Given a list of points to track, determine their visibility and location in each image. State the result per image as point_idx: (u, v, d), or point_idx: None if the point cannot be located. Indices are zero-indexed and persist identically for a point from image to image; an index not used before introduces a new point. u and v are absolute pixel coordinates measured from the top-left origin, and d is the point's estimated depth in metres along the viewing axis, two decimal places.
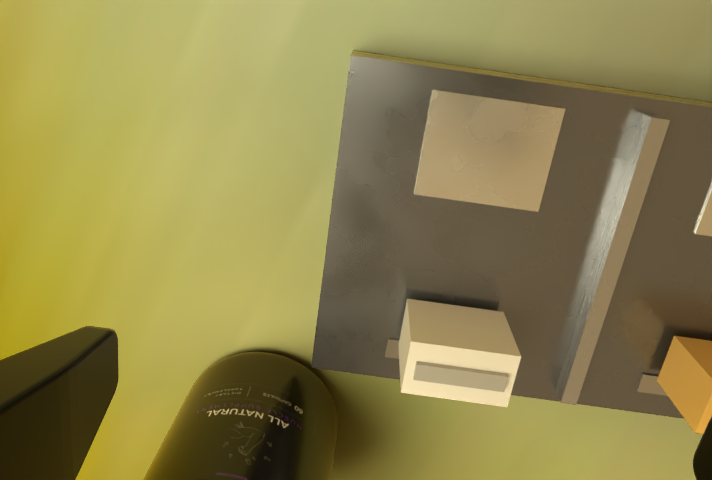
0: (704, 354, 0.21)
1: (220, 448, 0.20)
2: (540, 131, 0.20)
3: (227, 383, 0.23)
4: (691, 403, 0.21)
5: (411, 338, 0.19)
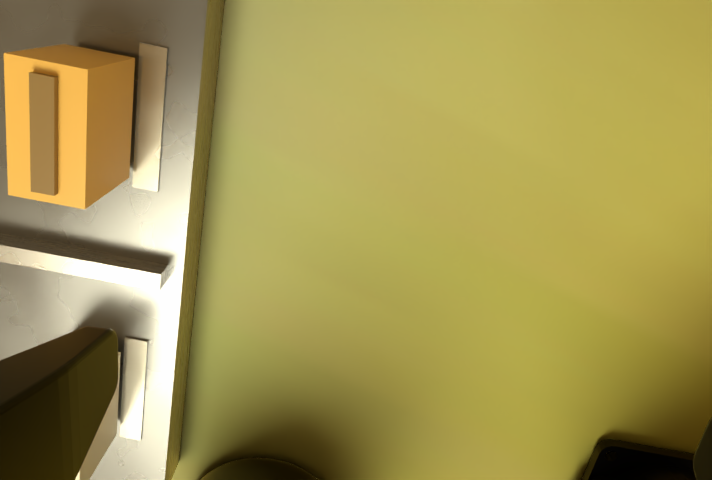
0: None
1: None
2: None
3: None
4: None
5: None
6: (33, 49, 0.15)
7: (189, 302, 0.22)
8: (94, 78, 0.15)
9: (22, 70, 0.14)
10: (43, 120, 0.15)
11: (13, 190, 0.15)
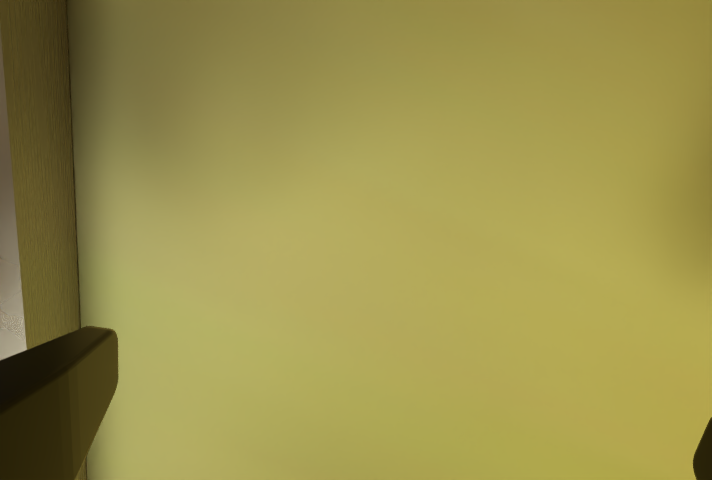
0: None
1: None
2: None
3: None
4: None
5: None
6: None
7: None
8: None
9: None
10: None
11: None
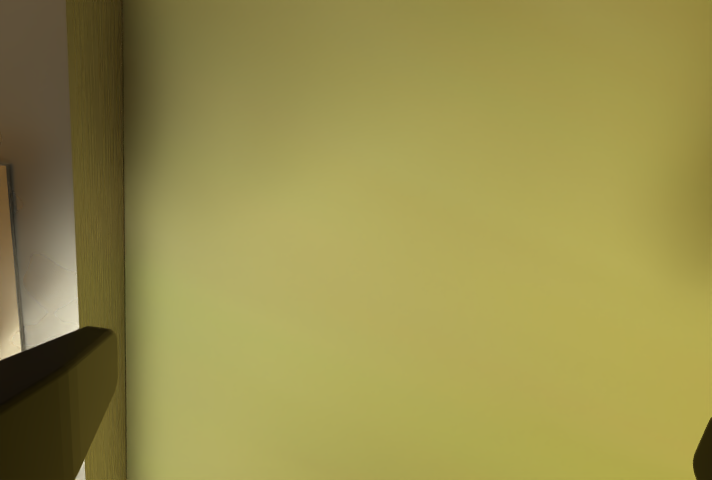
0: None
1: None
2: None
3: None
4: None
5: None
6: None
7: None
8: None
9: None
10: None
11: None
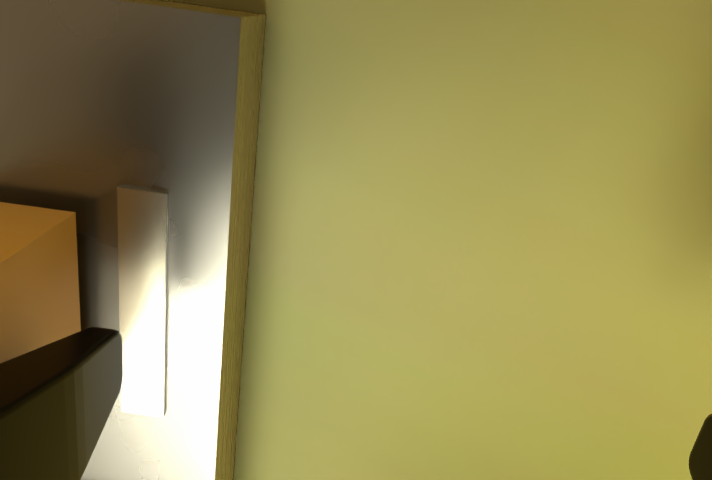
0: None
1: None
2: None
3: None
4: None
5: None
6: None
7: None
8: None
9: None
10: None
11: None
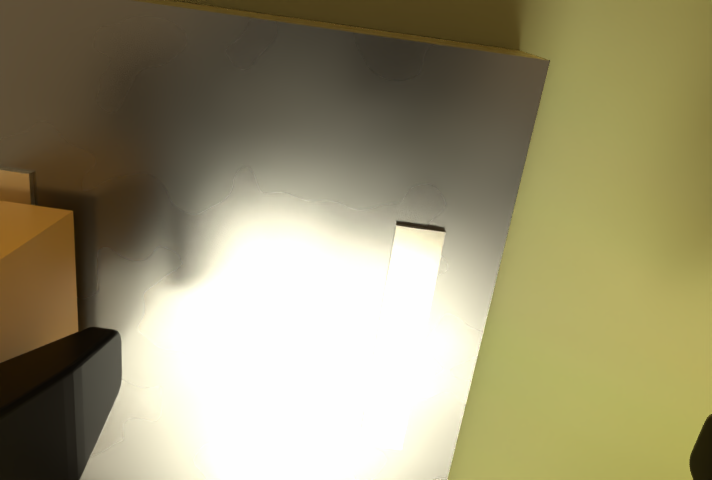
0: None
1: None
2: None
3: None
4: None
5: None
6: None
7: None
8: None
9: None
10: None
11: None
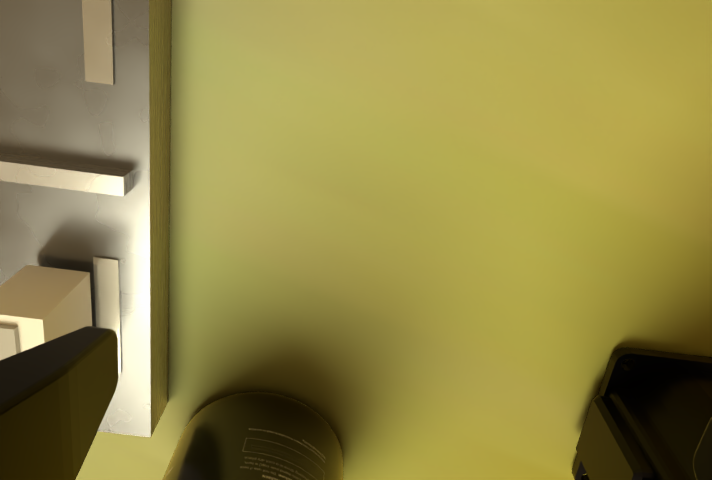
0: None
1: None
2: None
3: None
4: None
5: None
6: None
7: (162, 219, 0.20)
8: None
9: None
10: None
11: None
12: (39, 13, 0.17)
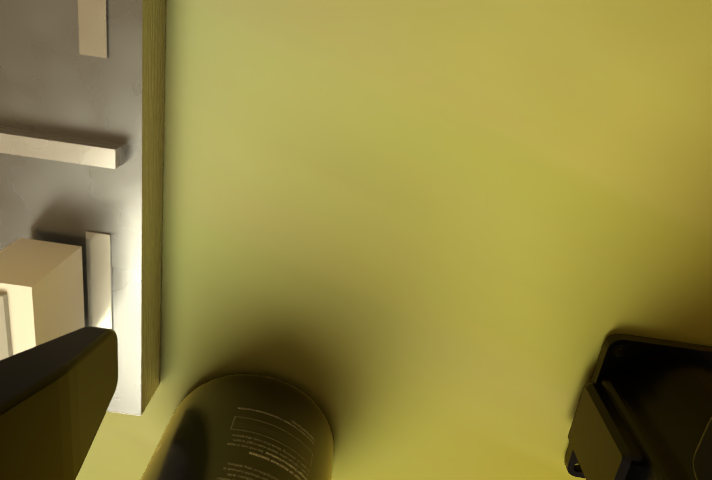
0: None
1: None
2: None
3: None
4: None
5: None
6: None
7: (155, 196, 0.20)
8: None
9: None
10: None
11: None
12: None
